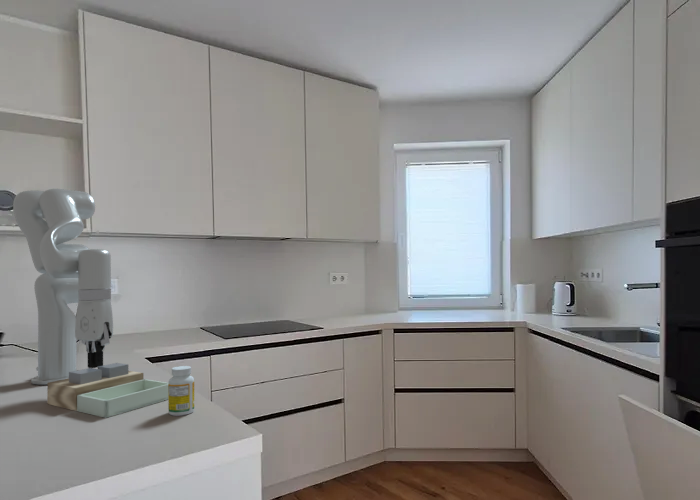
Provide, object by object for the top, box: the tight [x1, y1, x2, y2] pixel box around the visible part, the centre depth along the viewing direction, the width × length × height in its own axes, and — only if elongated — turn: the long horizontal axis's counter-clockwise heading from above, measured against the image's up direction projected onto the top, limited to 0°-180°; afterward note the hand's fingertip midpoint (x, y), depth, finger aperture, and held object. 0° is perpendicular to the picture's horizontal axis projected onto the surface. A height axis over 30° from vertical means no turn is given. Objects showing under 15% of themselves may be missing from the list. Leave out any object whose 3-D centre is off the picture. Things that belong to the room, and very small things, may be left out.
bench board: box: [46, 370, 145, 412], centre depth 114 cm, size 12×17×5 cm
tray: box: [77, 378, 168, 419], centre depth 108 cm, size 11×17×4 cm, turn 149°
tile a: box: [97, 362, 129, 378], centre depth 117 cm, size 5×5×2 cm
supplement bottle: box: [167, 365, 195, 417], centre depth 101 cm, size 5×5×10 cm
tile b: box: [69, 367, 102, 384], centre depth 111 cm, size 5×5×2 cm
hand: (95, 366), depth 121 cm, fingers closed
